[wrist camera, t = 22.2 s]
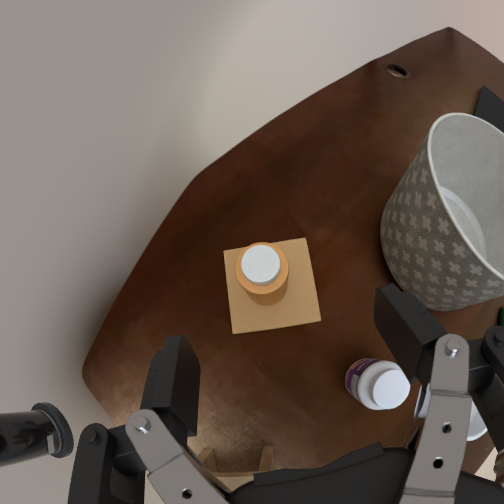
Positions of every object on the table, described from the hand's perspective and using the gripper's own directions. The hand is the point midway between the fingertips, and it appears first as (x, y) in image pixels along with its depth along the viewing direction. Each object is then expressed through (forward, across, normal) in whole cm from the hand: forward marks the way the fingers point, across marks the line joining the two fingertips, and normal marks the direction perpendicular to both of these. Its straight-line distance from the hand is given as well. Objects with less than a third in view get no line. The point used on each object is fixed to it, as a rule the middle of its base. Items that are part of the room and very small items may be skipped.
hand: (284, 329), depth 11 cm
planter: (+21, -24, +13) cm, 34 cm away
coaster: (+21, 0, +12) cm, 24 cm away
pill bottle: (+11, -9, +22) cm, 26 cm away
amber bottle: (+21, 0, +11) cm, 24 cm away
